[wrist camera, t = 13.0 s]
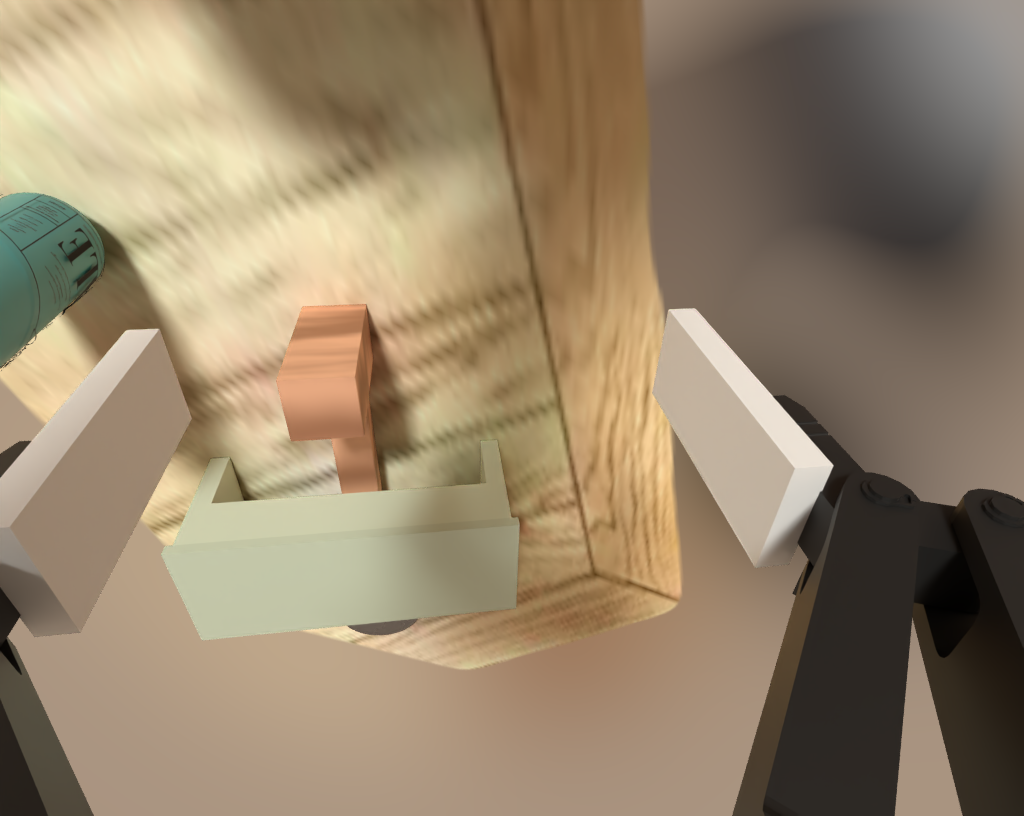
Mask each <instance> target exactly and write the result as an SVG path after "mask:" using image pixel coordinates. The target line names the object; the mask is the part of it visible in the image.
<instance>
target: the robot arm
mask: <svg viewBox="0 0 1024 816" xmlns="http://www.w3.org/2000/svg"><path fill="white" fill-rule="evenodd" d="M652 393H653V395H654V397H655V398H656V400H657V402H658V403H659V405H660V407H661V409H662V410H663V412H664V414H665V415H666V417H667V419H668V420H669V422H670V424H671V426H672V427H673V429H674V431H675V432H676V434H677V436H678V437H679V439H680V441H681V442H682V444H683V446H684V448H685V449H686V451H687V453H688V454H689V456H690V458H691V460H692V461H693V463H694V465H695V466H696V468H697V470H698V471H699V473H700V475H701V476H702V478H703V480H704V482H705V483H706V485H707V487H708V488H709V490H710V492H711V493H712V495H713V497H714V499H715V500H716V502H717V504H718V505H719V507H720V509H721V510H722V512H723V514H724V516H725V517H726V519H727V520H728V522H729V524H730V526H731V527H732V529H733V531H734V533H735V534H736V536H737V538H738V539H739V541H740V543H741V544H742V546H743V548H744V549H745V551H746V553H747V554H748V556H749V558H750V560H751V561H752V563H753V565H754V566H755V568H758V567H768V566H779V565H789V564H790V562H791V559H792V557H793V555H794V553H795V550H796V548H797V546H798V545H799V546H800V547H801V549H802V550H803V552H804V553H805V555H806V556H807V558H808V561H807V564H806V566H805V568H804V570H803V572H802V574H801V576H800V578H799V580H798V583H797V585H796V587H795V589H794V591H793V594H794V595H796V597H795V601H794V604H793V608H792V611H791V615H790V618H789V622H788V625H787V628H786V632H785V635H784V639H783V642H782V646H781V649H780V653H779V656H778V659H777V663H776V666H775V670H774V673H773V677H772V680H771V684H770V687H769V690H768V694H767V697H766V701H765V705H764V708H763V711H762V715H761V718H760V722H759V725H758V729H757V732H756V735H755V739H754V743H753V746H752V749H751V753H750V756H749V760H748V763H747V766H746V770H745V773H744V777H743V780H742V784H741V787H740V791H739V794H738V797H737V801H736V804H735V808H734V811H733V815H732V816H895V805H896V794H897V782H898V770H899V760H900V749H901V738H902V737H901V736H902V726H903V715H904V703H905V693H906V681H907V670H908V659H909V648H910V647H909V646H910V636H911V625H912V618H913V621H914V625H915V629H916V633H917V637H918V641H919V645H920V649H921V653H922V657H923V661H924V665H925V669H926V673H927V677H928V681H929V684H930V688H931V692H932V696H933V700H934V704H935V708H936V712H937V716H938V720H939V724H940V728H941V731H942V736H943V740H944V744H945V748H946V752H947V755H948V759H949V763H950V767H951V771H952V775H953V779H954V783H955V787H956V791H957V795H958V798H959V802H960V806H961V811H962V815H963V816H1024V502H1023V501H1021V500H1019V499H1018V498H1017V499H1016V498H1015V497H1013V496H1011V495H1008V494H1004V493H1001V492H998V491H994V490H987V489H975V490H970V491H968V492H967V493H966V494H965V495H964V496H963V498H962V500H961V501H960V503H959V504H958V506H957V507H955V506H949V505H942V504H936V503H930V502H923V501H920V500H919V499H918V497H917V496H916V495H915V494H914V493H913V491H912V490H910V489H909V488H907V487H906V486H905V485H903V484H902V483H900V482H898V481H896V480H894V479H892V478H889V477H887V476H884V475H880V474H876V473H866V472H864V470H862V468H861V467H860V466H859V465H858V464H857V463H856V462H855V461H854V460H853V459H852V458H851V457H850V455H849V454H848V453H847V452H846V451H845V450H844V449H843V448H842V447H841V446H840V445H839V444H838V443H837V442H836V440H835V439H834V438H833V437H832V436H831V435H829V436H828V432H827V431H826V430H825V429H824V428H823V427H822V426H821V424H818V423H817V420H816V419H815V418H814V417H813V416H812V415H811V414H810V413H809V412H808V411H807V410H806V408H805V407H803V406H801V405H800V404H798V403H797V402H795V401H793V400H792V399H790V398H788V397H787V396H784V395H783V396H772V395H771V394H770V393H769V392H768V391H767V389H766V388H765V387H764V386H763V385H762V384H761V383H760V381H759V380H758V379H757V378H756V377H755V376H754V375H753V374H752V373H751V371H750V370H749V369H748V368H747V367H746V366H745V364H744V363H742V361H741V360H740V359H739V358H738V357H737V355H736V354H735V353H734V352H733V351H732V350H731V349H730V347H729V346H728V345H727V344H726V343H725V342H724V341H723V339H722V338H721V337H720V336H719V335H718V334H717V333H716V332H715V331H714V329H713V328H712V327H711V326H710V325H709V324H708V323H707V321H706V320H705V319H704V318H703V317H702V316H701V314H700V313H699V312H698V311H697V310H696V309H695V308H694V309H669V310H668V316H667V320H666V325H665V330H664V335H663V341H662V346H661V351H660V356H659V361H658V366H657V371H656V376H655V382H654V387H653V392H652ZM191 420H192V417H191V415H190V412H189V409H188V406H187V404H186V401H185V398H184V395H183V392H182V390H181V387H180V384H179V381H178V379H177V376H176V373H175V370H174V367H173V365H172V362H171V359H170V356H169V354H168V351H167V348H166V345H165V342H164V340H163V337H162V334H161V331H160V329H139V330H126V331H125V332H124V333H123V334H122V336H121V337H120V338H119V339H118V340H117V342H116V343H115V344H114V345H113V346H112V347H111V349H110V350H109V351H108V352H107V353H106V354H105V356H104V357H103V358H102V359H101V360H100V362H99V363H98V364H97V365H96V366H95V367H94V369H93V370H92V371H91V372H90V373H89V374H88V376H87V377H86V378H85V379H84V380H83V381H82V383H81V384H80V385H79V386H78V387H77V389H76V390H75V391H74V392H73V393H72V394H71V396H70V397H69V398H68V399H67V400H66V401H65V403H64V404H63V405H62V406H61V407H60V408H59V410H58V411H57V412H56V413H55V414H54V416H53V417H52V418H51V419H50V420H49V421H48V423H47V424H46V425H45V426H44V427H43V429H42V430H41V431H40V432H39V433H38V434H37V435H36V437H35V438H34V439H33V440H32V441H20V442H18V443H16V444H14V445H13V446H12V447H10V448H8V449H7V450H5V451H4V452H3V453H1V454H0V816H94V815H93V813H92V811H91V809H90V806H89V804H88V802H87V800H86V798H85V796H84V793H83V791H82V789H81V787H80V785H79V783H78V781H77V778H76V776H75V774H74V772H73V770H72V768H71V766H70V763H69V761H68V759H67V757H66V755H65V753H64V750H63V748H62V746H61V744H60V742H59V740H58V737H57V735H56V733H55V731H54V729H53V727H52V725H51V723H50V720H49V718H48V716H47V714H46V712H45V710H44V707H43V705H42V703H41V701H40V699H39V697H38V695H37V692H36V690H35V688H34V686H33V684H32V682H31V679H30V677H29V675H28V673H27V671H26V669H25V666H24V664H23V662H22V660H21V658H20V656H19V653H18V651H17V649H16V647H15V646H14V645H13V643H12V642H11V641H10V640H9V638H8V637H7V636H8V635H9V633H10V632H11V630H12V628H13V627H14V625H15V624H16V622H17V620H18V619H19V617H20V618H21V620H22V621H23V622H24V624H25V625H26V626H27V628H28V629H29V630H30V632H31V633H32V634H33V636H34V637H40V636H51V635H61V634H72V633H80V632H81V630H82V628H83V626H84V625H85V623H86V621H87V619H88V617H89V615H90V613H91V611H92V609H93V607H94V605H95V604H96V602H97V600H98V598H99V595H100V594H101V592H102V590H103V588H104V586H105V584H106V582H107V581H108V578H109V577H110V575H111V573H112V571H113V569H114V567H115V565H116V563H117V561H118V559H119V557H120V556H121V554H122V552H123V549H124V548H125V546H126V544H127V542H128V540H129V538H130V536H131V535H132V533H133V531H134V528H135V527H136V525H137V523H138V521H139V519H140V517H141V515H142V513H143V512H144V510H145V508H146V506H147V504H148V502H149V500H150V498H151V496H152V494H153V492H154V490H155V489H156V487H157V485H158V483H159V481H160V479H161V477H162V475H163V473H164V471H165V469H166V467H167V466H168V464H169V462H170V460H171V458H172V456H173V454H174V452H175V450H176V448H177V446H178V444H179V443H180V441H181V439H182V437H183V435H184V433H185V431H186V429H187V427H188V425H189V423H190V421H191Z"/></svg>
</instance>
